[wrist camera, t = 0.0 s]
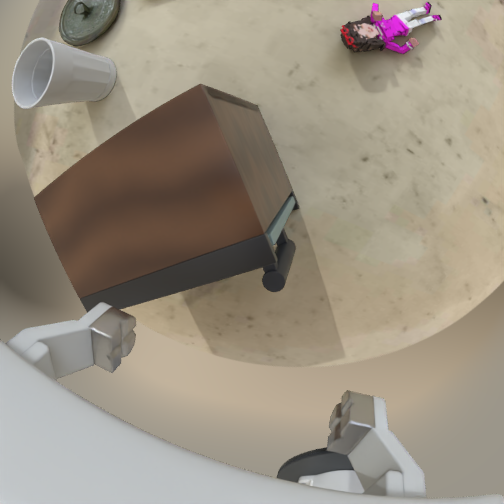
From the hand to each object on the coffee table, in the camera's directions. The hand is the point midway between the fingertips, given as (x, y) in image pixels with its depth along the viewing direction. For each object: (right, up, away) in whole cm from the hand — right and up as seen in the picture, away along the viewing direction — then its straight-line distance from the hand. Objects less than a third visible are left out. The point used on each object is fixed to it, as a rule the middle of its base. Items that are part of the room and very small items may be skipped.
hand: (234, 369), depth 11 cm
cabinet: (-5, +13, +25) cm, 28 cm away
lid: (-21, +37, +20) cm, 47 cm away
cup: (-20, +27, +23) cm, 41 cm away
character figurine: (+15, +27, +14) cm, 35 cm away
